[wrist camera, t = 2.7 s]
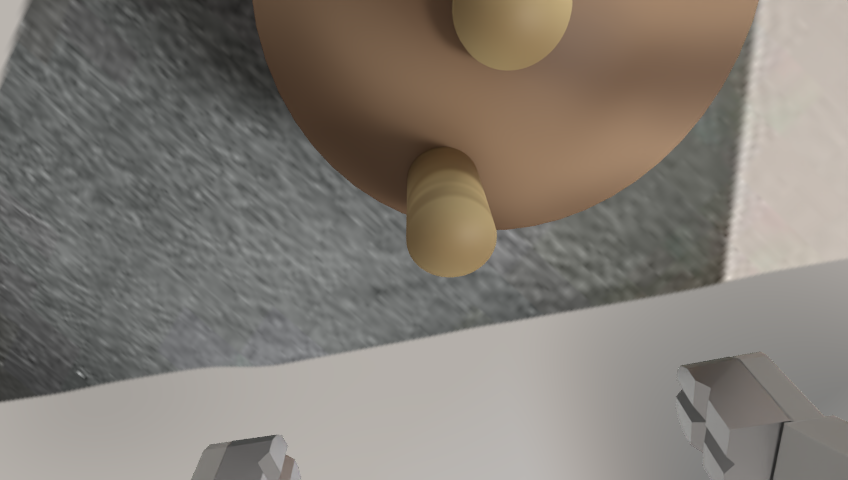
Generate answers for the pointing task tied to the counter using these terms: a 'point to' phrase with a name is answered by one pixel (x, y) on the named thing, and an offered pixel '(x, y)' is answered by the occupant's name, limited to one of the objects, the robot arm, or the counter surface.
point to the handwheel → (496, 102)
